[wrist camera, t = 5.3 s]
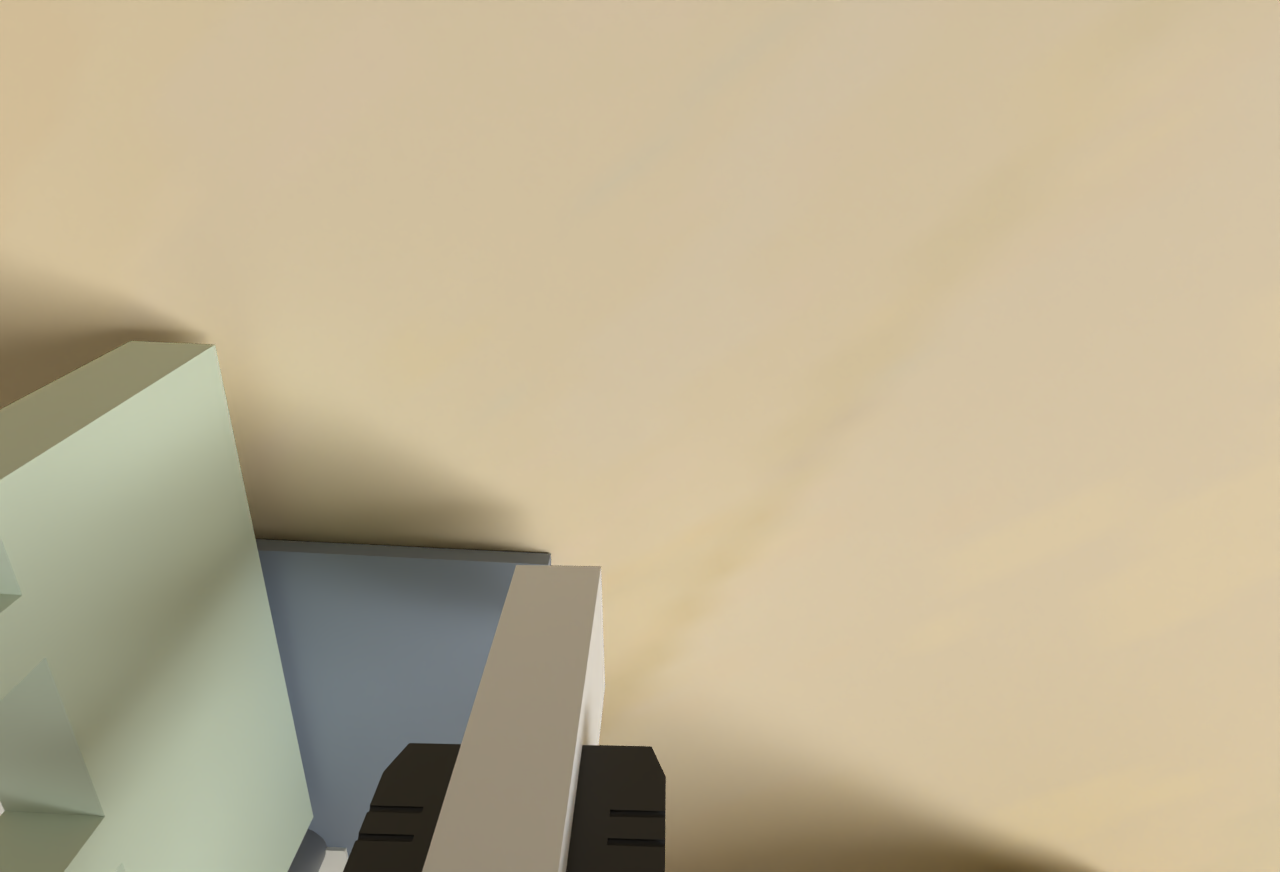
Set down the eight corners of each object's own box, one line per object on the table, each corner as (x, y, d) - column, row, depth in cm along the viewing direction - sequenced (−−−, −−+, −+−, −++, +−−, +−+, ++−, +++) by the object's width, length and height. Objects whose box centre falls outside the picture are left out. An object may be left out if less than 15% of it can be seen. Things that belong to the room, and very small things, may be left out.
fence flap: (313, 816, 19) (165, 1129, 14) (251, 813, 19) (79, 1124, 14) (215, 344, 14) (-91, 537, 8) (131, 340, 14) (-231, 530, 8)
